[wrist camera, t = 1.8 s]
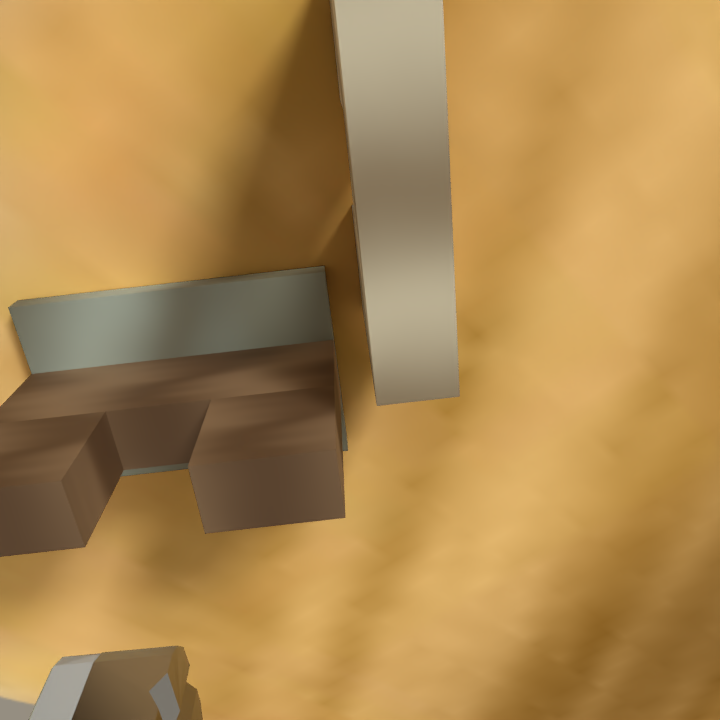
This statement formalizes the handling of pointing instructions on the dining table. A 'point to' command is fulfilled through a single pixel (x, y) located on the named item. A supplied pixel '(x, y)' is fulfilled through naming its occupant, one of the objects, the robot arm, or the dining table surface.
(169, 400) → the walnut slotted plate
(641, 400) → the dining table surface
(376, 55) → the maple slotted plate
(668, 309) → the dining table surface
